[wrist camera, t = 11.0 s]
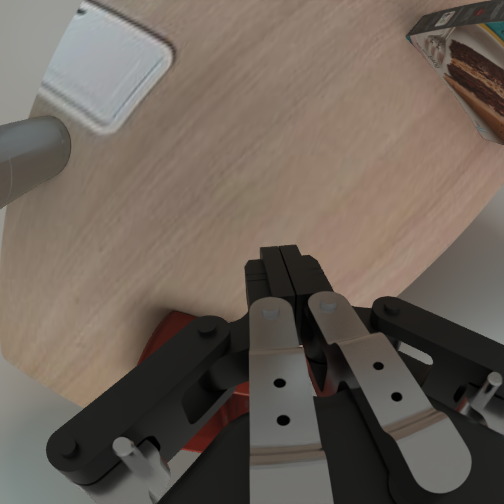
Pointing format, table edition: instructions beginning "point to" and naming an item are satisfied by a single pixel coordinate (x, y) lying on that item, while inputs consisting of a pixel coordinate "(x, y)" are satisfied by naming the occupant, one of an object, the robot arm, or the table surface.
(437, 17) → the cake mix box
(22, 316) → the table surface
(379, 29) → the table surface
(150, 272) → the table surface
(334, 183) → the table surface
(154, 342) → the plant pot
